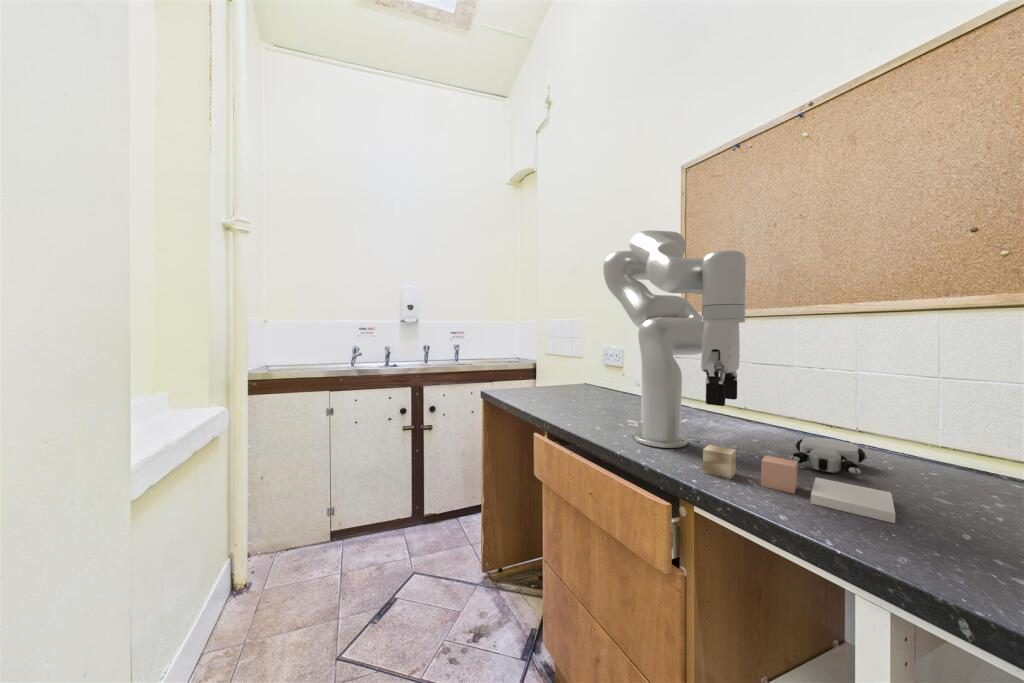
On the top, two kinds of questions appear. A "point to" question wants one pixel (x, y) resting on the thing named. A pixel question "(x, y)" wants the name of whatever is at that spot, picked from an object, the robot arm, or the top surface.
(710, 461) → the beech brick
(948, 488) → the top surface
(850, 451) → the robot toy
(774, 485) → the clay brick
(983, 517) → the top surface
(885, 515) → the base plate
